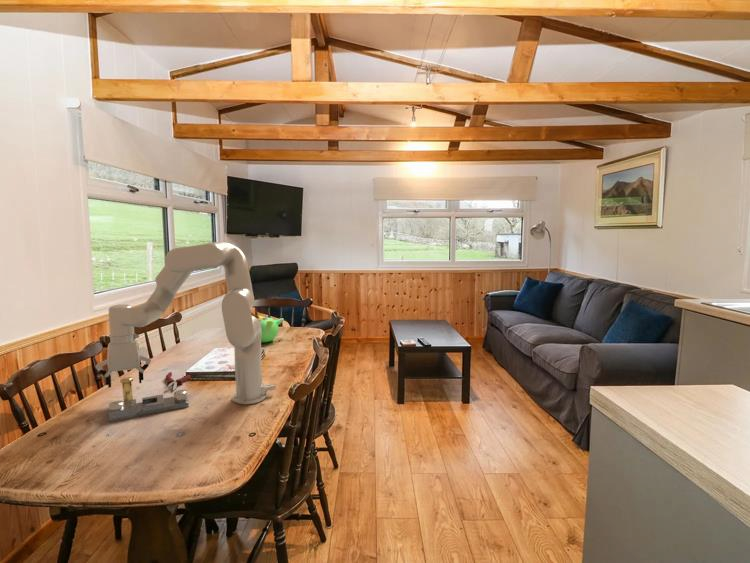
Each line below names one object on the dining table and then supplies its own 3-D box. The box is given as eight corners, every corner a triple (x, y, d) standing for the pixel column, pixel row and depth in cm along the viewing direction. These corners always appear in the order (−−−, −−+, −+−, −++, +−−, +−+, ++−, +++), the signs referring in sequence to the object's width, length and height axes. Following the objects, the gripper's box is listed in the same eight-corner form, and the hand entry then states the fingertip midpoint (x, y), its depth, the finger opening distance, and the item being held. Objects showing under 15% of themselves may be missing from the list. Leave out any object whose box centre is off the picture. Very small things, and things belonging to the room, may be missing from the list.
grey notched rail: (186, 398, 157) (186, 386, 156) (189, 406, 150) (188, 394, 149) (110, 412, 145) (109, 400, 145) (108, 422, 138) (107, 409, 137)
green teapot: (257, 337, 244) (256, 312, 242) (285, 338, 242) (284, 313, 240) (243, 345, 227) (242, 319, 225) (273, 346, 224) (272, 320, 222)
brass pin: (134, 399, 156) (132, 376, 155) (134, 403, 153) (132, 379, 152) (122, 401, 154) (120, 378, 153) (121, 405, 151) (119, 381, 150)
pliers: (153, 395, 161) (153, 388, 161) (168, 377, 181) (168, 371, 180) (185, 393, 163) (184, 386, 163) (196, 375, 183) (196, 369, 183)
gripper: (149, 333, 158) (151, 377, 160) (95, 339, 149) (98, 384, 152) (150, 338, 151) (152, 383, 154) (92, 344, 143) (96, 392, 145)
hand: (125, 384), depth 153 cm, fingers open, 9 cm apart
